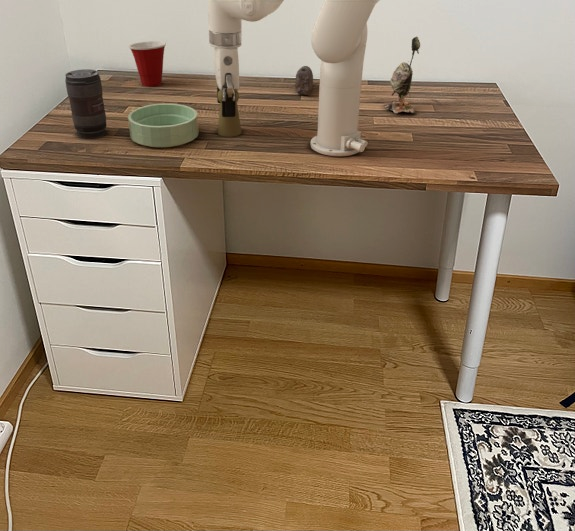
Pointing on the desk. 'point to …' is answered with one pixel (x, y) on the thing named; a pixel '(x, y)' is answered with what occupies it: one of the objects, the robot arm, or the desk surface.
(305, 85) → the perforated stone tool
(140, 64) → the plastic cup
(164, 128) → the bowl
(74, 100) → the camera lens
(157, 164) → the desk surface
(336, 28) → the robot arm
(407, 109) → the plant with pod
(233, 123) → the tan pawn
